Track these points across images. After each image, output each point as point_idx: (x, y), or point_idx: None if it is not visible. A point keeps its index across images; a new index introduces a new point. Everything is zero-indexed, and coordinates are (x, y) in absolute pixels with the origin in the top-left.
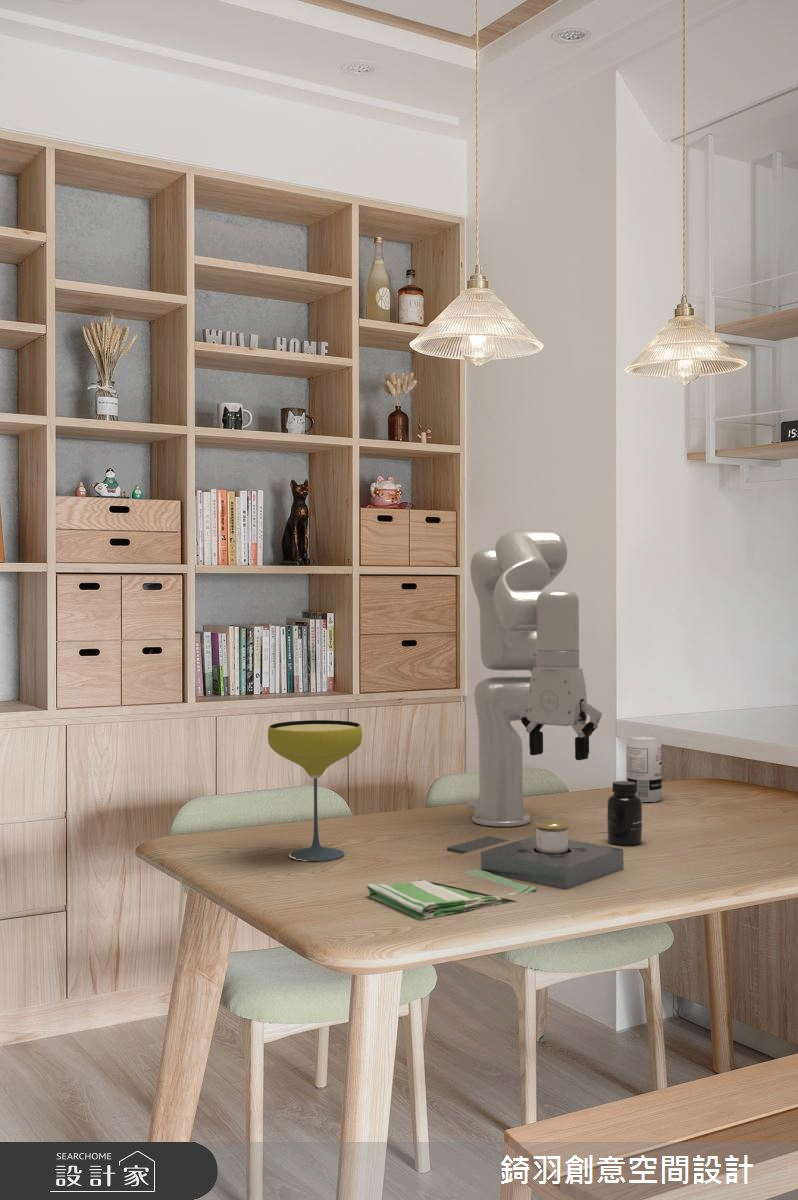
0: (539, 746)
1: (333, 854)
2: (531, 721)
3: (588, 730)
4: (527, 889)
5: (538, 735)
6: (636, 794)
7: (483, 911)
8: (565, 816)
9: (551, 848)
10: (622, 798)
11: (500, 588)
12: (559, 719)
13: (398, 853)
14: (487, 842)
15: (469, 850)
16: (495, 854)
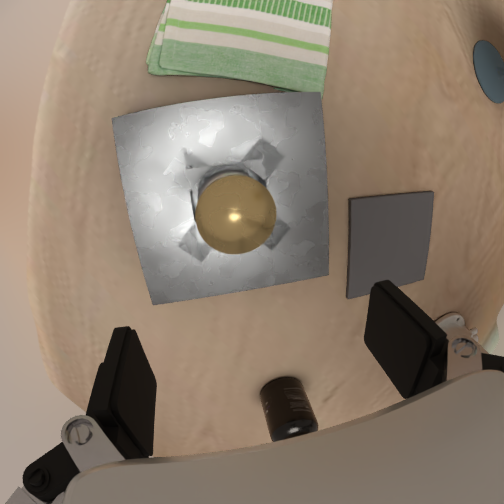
0: (381, 340)
1: (482, 70)
2: (480, 371)
3: (49, 457)
4: (158, 59)
5: (409, 369)
6: None
7: None
8: (393, 399)
9: (209, 178)
10: (289, 431)
11: None
12: (194, 500)
13: (457, 134)
14: (410, 254)
15: (406, 200)
16: (285, 92)
